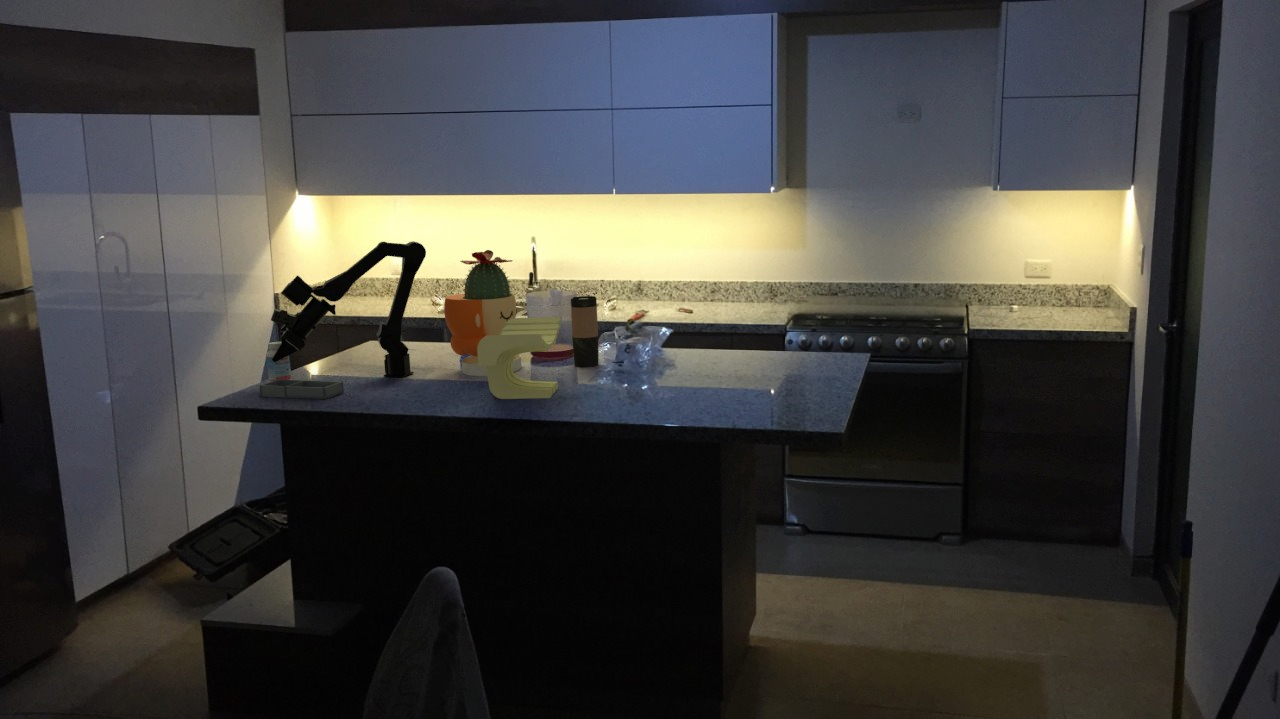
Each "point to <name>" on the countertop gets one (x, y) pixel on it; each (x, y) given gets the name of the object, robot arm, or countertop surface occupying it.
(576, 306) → the travel mug
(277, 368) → the pill bottle
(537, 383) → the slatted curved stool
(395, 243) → the robot arm
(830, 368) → the countertop surface
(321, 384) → the tray
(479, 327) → the potted cactus
